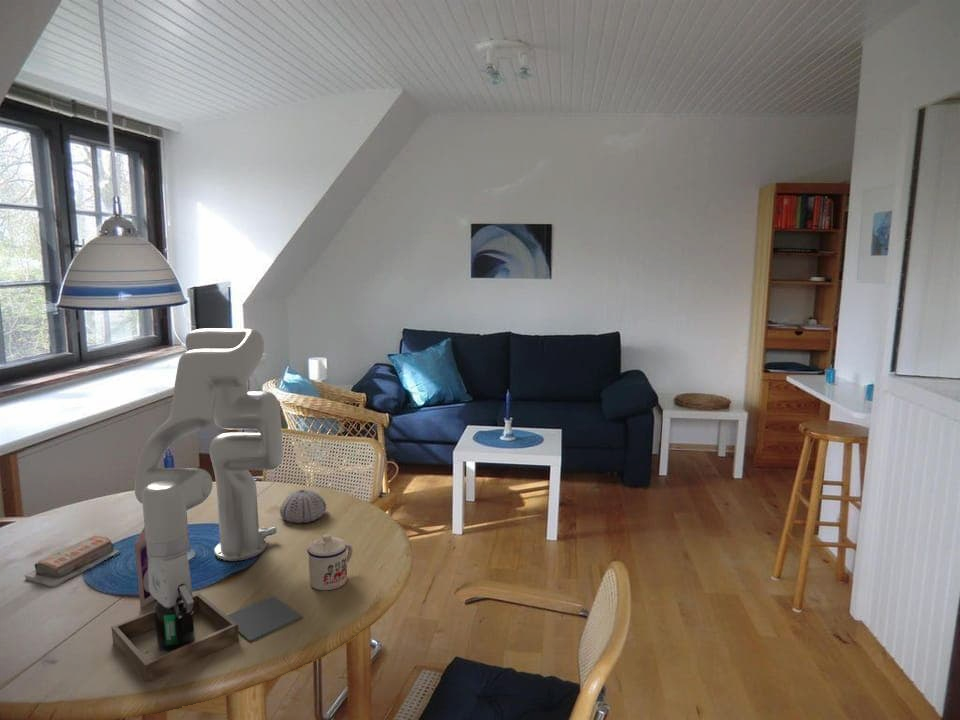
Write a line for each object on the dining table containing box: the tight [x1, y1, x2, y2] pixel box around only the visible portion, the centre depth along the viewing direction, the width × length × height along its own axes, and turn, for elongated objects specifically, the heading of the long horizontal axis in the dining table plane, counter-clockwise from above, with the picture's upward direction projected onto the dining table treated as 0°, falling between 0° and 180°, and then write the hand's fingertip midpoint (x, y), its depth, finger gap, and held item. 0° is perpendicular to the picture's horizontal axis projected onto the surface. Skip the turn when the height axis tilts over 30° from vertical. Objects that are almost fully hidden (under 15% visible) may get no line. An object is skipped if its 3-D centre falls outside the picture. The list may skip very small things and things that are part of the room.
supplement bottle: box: [153, 598, 195, 652], centre depth 129 cm, size 7×7×12 cm
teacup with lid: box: [306, 533, 354, 591], centre depth 154 cm, size 12×9×12 cm
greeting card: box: [134, 526, 155, 608], centre depth 147 cm, size 11×7×15 cm, turn 160°
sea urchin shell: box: [279, 488, 327, 524], centre depth 190 cm, size 13×14×8 cm
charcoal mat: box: [226, 595, 304, 643], centre depth 138 cm, size 12×12×1 cm
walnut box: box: [111, 592, 240, 684], centre depth 130 cm, size 18×18×4 cm
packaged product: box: [24, 535, 120, 588], centre depth 160 cm, size 18×5×10 cm
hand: (174, 624), depth 130 cm, fingers open, 9 cm apart
